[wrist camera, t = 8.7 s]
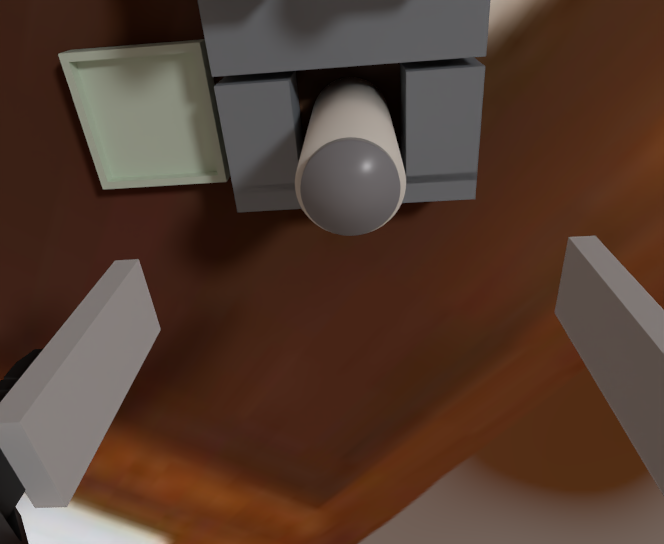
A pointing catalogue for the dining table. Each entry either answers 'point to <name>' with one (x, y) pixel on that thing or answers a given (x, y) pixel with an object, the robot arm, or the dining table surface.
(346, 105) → the cylinder
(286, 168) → the housing
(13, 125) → the dining table surface
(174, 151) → the tray
